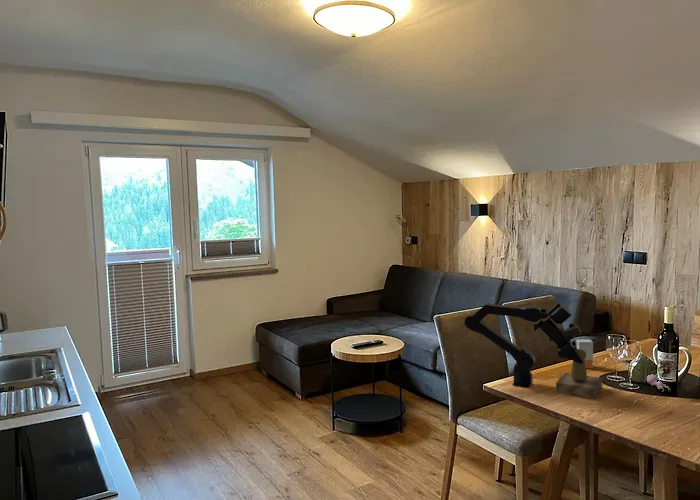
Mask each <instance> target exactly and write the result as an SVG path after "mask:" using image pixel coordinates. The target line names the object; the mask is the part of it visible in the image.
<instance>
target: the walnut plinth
mask: <svg viewBox="0 0 700 500" xmlns="http://www.w3.org/2000/svg"><path fill="white" fill-rule="evenodd" d="M555 388H556V389H555V393H556V394H560V395H568V396H572V397H573V396H574V397H580V398H584V399H592V400H596V399H597V397H598V395H599V394H600V391H601V390H602V389H603V378H602V377H598V376H592V375H591V376H590V375H587V379H585V380H577V379H573V378H571V372H564V373H563V374H562V375H561V376H560V377H559V379H558V380H557V381H556V383H555Z"/></svg>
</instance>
